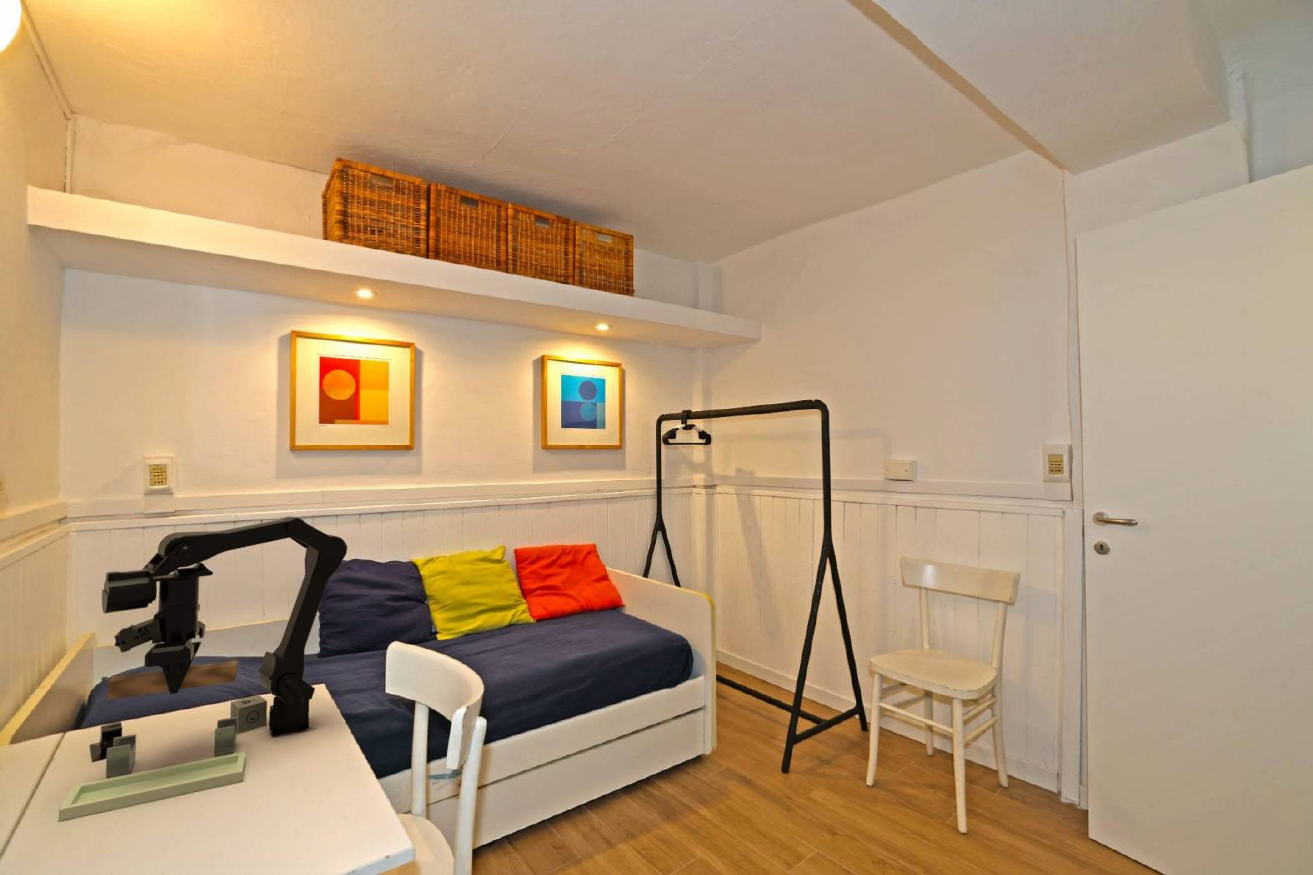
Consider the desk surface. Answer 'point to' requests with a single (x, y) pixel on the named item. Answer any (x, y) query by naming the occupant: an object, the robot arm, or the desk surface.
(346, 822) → the desk surface
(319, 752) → the desk surface
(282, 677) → the robot arm
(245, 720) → the dice cube
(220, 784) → the tray
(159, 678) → the rail
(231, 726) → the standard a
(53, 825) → the desk surface
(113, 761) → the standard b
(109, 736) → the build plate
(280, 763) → the desk surface
